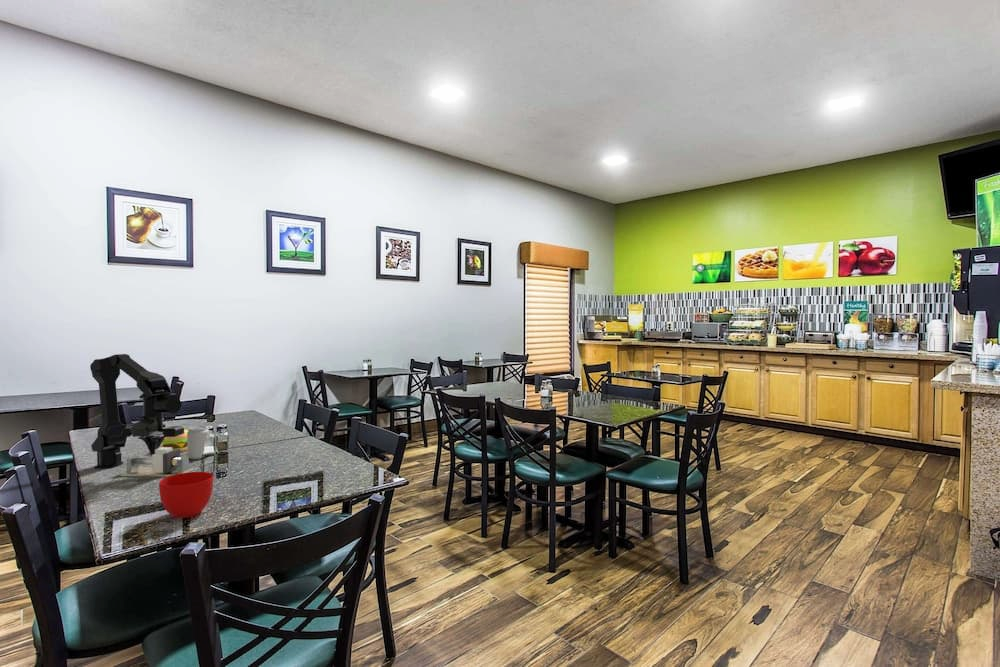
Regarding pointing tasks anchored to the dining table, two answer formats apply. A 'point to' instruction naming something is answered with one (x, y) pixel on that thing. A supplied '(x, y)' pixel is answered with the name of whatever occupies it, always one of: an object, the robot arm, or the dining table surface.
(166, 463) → the block
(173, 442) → the hamburger
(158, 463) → the bracket
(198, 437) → the can
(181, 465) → the beige mechanical fixture
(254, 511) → the dining table surface
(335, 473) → the dining table surface
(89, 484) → the dining table surface
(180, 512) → the red bowl
